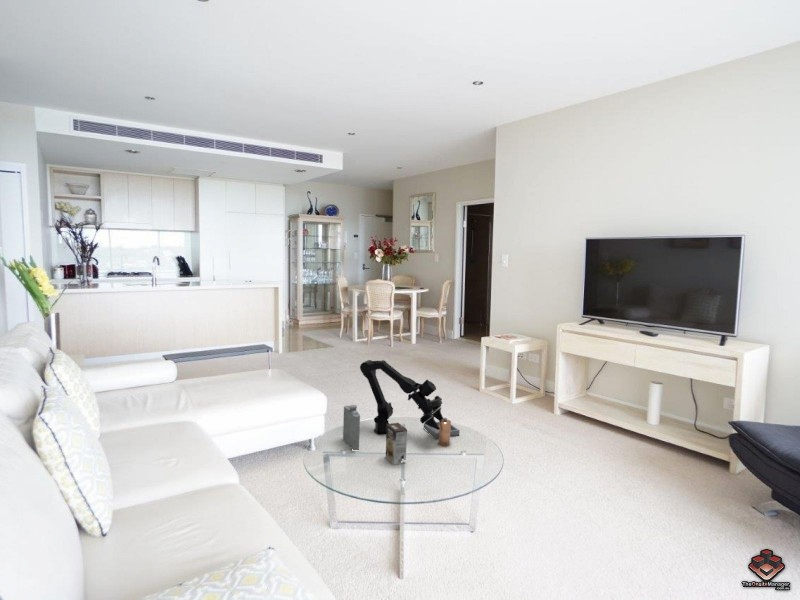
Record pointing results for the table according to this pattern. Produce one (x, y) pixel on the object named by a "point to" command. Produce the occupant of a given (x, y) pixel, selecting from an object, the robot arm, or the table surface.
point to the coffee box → (396, 443)
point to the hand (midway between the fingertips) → (441, 426)
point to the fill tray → (435, 432)
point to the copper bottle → (444, 432)
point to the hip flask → (351, 426)
